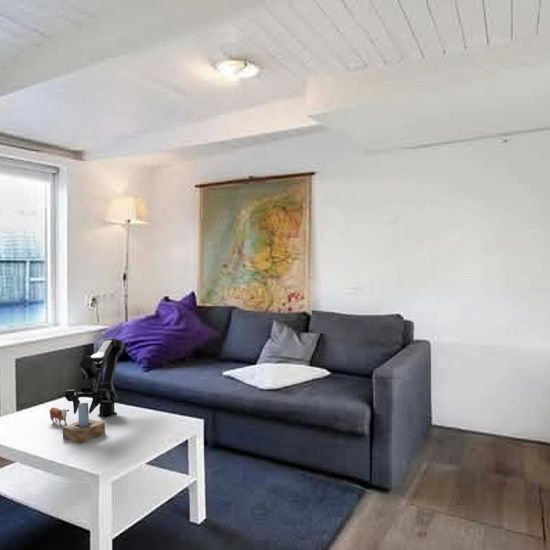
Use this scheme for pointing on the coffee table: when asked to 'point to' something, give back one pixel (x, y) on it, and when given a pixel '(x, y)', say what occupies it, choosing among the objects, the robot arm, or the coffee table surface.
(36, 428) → the coffee table surface
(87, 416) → the dowel
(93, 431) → the socket
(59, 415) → the bull figurine
